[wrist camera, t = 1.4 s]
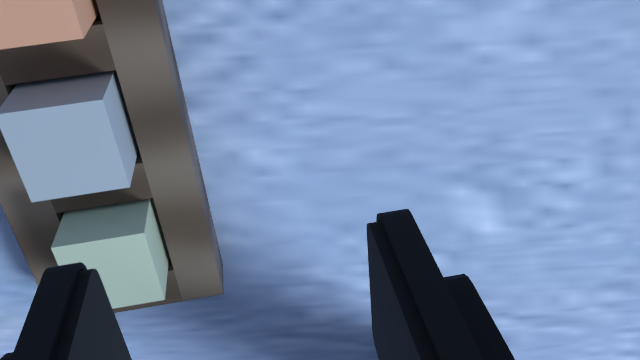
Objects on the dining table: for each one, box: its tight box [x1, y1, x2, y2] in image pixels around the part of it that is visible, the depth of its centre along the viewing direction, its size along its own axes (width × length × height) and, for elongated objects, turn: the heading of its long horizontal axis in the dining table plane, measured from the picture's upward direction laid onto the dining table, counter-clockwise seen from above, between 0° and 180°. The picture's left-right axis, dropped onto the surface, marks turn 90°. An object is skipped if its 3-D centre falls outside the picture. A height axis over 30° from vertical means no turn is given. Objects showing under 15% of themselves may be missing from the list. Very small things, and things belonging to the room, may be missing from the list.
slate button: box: [0, 70, 139, 202], centre depth 31 cm, size 5×5×4 cm
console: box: [0, 0, 223, 313], centre depth 33 cm, size 27×11×3 cm, turn 5°
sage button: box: [51, 198, 169, 309], centre depth 35 cm, size 5×5×4 cm
